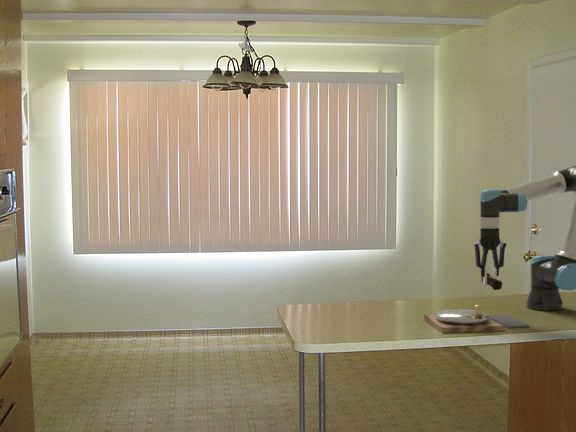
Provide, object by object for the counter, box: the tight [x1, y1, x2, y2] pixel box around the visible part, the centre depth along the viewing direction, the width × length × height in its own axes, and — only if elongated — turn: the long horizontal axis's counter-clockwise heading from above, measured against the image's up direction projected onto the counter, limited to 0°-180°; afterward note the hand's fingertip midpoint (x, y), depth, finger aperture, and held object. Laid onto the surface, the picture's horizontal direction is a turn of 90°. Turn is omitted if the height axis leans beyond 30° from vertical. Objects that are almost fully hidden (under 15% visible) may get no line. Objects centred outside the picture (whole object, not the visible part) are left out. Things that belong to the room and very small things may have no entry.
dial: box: [436, 304, 489, 325], centre depth 299 cm, size 20×20×7 cm
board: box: [423, 313, 504, 334], centre depth 300 cm, size 24×24×2 cm
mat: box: [488, 313, 530, 329], centre depth 305 cm, size 9×22×1 cm, turn 6°
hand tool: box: [480, 272, 503, 291], centre depth 310 cm, size 19×4×5 cm, turn 1°
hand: (489, 284), depth 310 cm, fingers closed on hand tool, 3 cm apart
